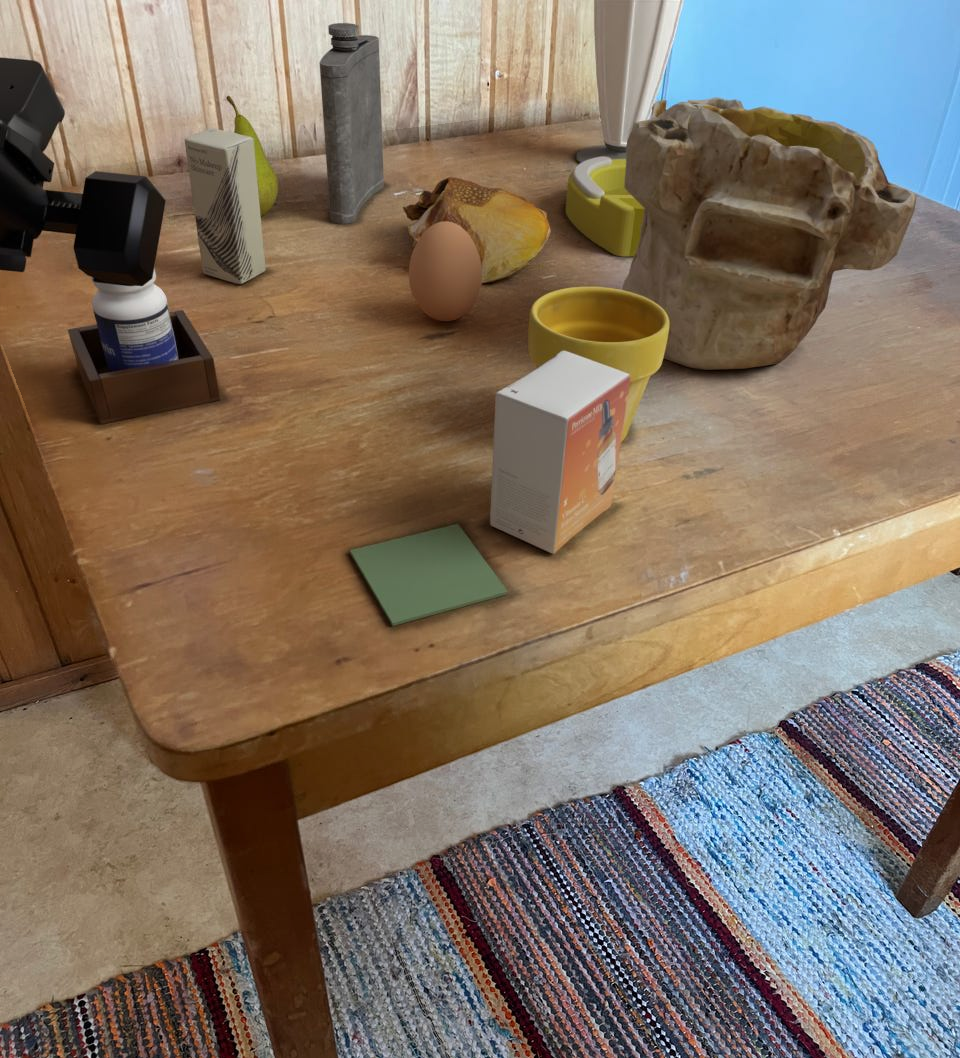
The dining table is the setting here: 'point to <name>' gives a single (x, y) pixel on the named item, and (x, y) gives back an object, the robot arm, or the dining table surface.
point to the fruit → (258, 164)
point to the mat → (427, 574)
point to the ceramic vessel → (752, 225)
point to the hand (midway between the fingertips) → (82, 272)
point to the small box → (557, 449)
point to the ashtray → (604, 205)
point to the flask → (351, 120)
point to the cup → (629, 65)
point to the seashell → (484, 223)
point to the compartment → (146, 375)
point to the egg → (445, 272)
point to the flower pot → (602, 333)
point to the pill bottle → (134, 325)
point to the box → (226, 204)
